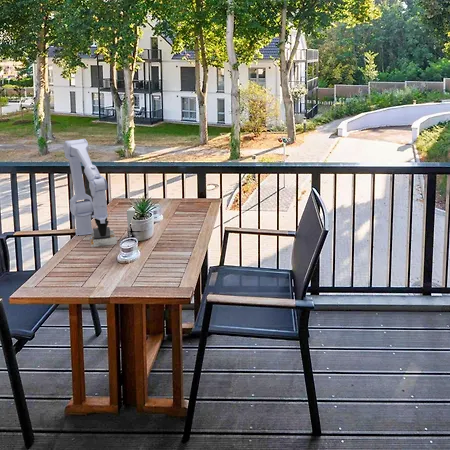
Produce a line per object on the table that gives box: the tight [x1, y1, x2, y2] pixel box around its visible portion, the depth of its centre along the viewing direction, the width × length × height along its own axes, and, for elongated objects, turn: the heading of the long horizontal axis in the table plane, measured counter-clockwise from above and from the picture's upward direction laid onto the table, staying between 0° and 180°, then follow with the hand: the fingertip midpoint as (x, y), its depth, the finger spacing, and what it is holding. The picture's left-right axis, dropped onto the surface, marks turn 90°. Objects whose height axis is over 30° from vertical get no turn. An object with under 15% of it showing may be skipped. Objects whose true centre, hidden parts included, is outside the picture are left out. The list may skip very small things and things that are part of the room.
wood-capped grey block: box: [92, 226, 111, 239], centre depth 285 cm, size 3×7×5 cm, turn 106°
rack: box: [88, 229, 118, 248], centre depth 288 cm, size 13×11×3 cm
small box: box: [126, 205, 135, 228], centre depth 303 cm, size 8×6×10 cm
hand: (102, 235), depth 285 cm, fingers closed on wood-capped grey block, 3 cm apart
